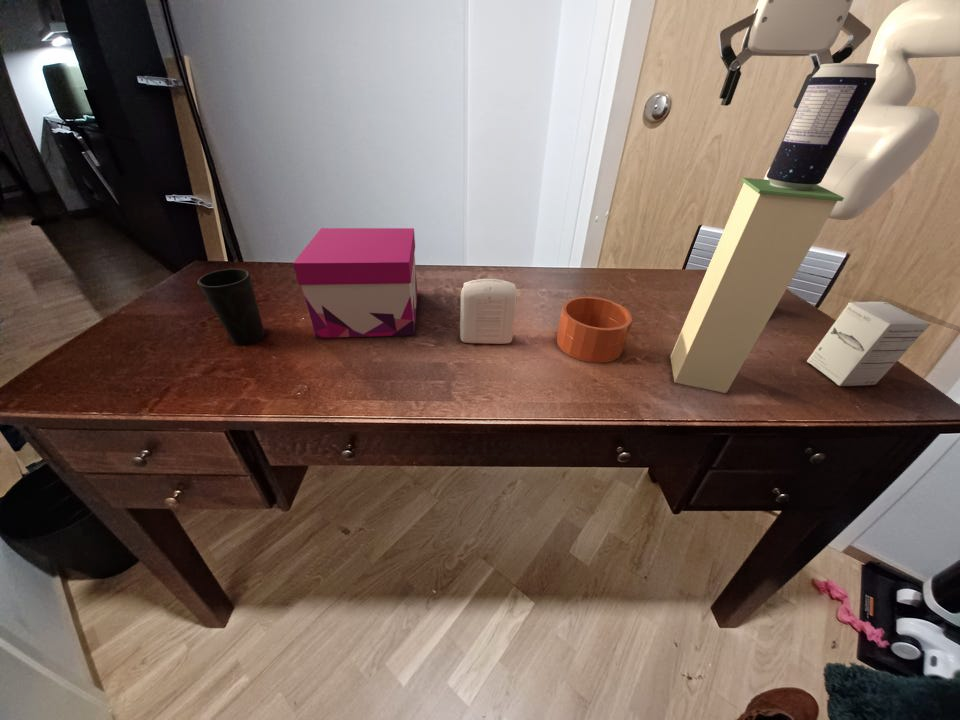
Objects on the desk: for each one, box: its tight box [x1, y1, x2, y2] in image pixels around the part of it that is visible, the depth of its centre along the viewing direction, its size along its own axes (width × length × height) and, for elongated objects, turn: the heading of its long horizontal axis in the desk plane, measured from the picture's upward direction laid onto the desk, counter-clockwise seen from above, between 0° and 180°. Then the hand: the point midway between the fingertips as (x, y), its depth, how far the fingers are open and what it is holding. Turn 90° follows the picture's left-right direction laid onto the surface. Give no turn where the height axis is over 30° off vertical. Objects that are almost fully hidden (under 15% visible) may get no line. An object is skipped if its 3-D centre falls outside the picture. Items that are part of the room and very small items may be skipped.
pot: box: [556, 296, 633, 364], centre depth 69 cm, size 12×12×7 cm
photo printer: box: [459, 278, 518, 345], centre depth 67 cm, size 10×4×12 cm, turn 92°
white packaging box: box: [806, 301, 932, 387], centre depth 62 cm, size 7×7×13 cm
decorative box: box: [292, 227, 418, 339], centre depth 73 cm, size 19×19×15 cm
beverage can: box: [766, 62, 879, 190], centre depth 42 cm, size 6×6×12 cm
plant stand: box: [669, 182, 837, 394], centre depth 55 cm, size 8×8×30 cm
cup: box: [197, 268, 266, 346], centre depth 66 cm, size 8×8×12 cm
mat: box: [741, 177, 844, 201], centre depth 46 cm, size 9×9×1 cm
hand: (761, 106), depth 54 cm, fingers open, 9 cm apart
